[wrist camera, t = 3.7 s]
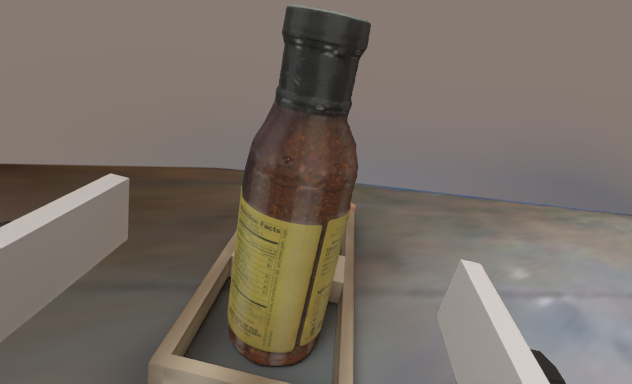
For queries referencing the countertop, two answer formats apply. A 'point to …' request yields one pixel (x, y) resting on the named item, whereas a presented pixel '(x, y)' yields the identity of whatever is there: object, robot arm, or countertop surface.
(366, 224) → the countertop surface
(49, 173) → the countertop surface
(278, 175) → the sauce bottle
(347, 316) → the bottle rack
